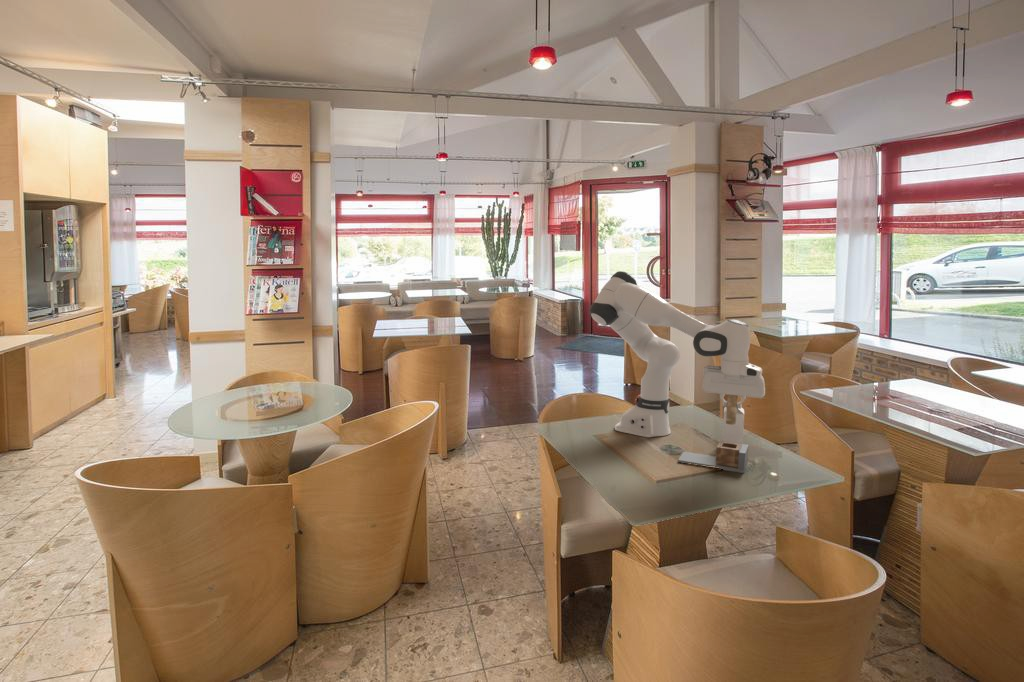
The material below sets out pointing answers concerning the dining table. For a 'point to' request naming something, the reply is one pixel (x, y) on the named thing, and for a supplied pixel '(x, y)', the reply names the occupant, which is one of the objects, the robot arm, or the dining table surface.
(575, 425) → the dining table surface
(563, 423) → the dining table surface
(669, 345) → the robot arm
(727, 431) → the milk carton
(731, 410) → the dowel
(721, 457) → the block
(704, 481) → the dining table surface
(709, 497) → the dining table surface
